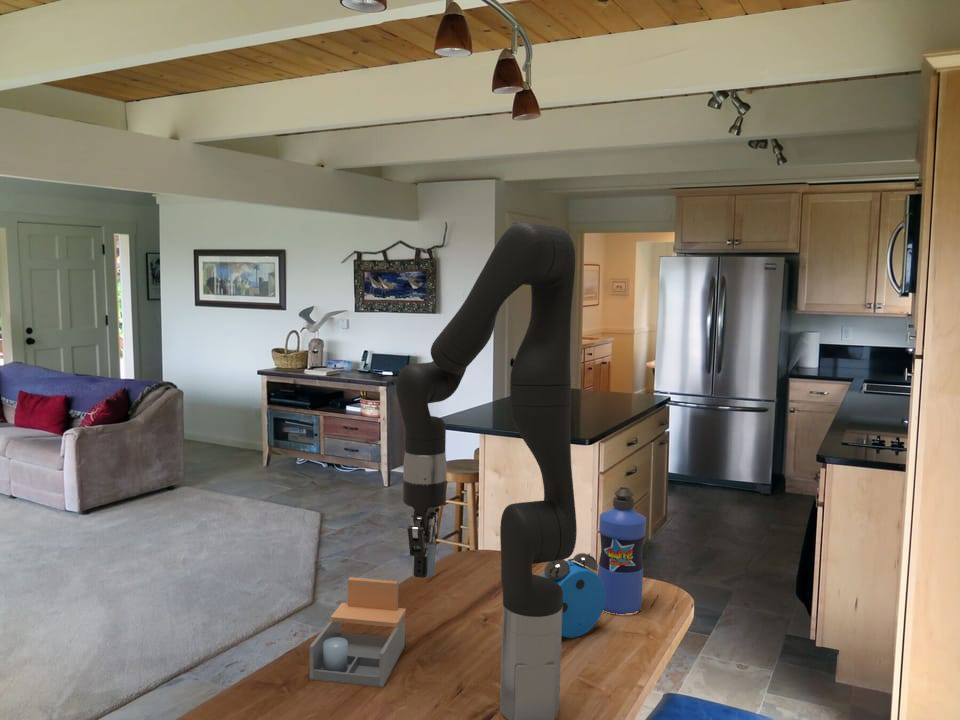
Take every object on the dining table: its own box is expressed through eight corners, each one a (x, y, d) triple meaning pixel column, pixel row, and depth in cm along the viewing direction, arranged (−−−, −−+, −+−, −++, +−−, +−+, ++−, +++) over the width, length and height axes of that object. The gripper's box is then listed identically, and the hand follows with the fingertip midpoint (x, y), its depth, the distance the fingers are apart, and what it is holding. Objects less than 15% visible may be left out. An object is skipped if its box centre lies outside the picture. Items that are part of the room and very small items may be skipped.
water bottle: (599, 594, 168) (603, 480, 165) (643, 600, 166) (649, 484, 163) (593, 612, 159) (598, 492, 156) (640, 619, 157) (646, 496, 154)
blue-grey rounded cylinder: (435, 577, 137) (435, 549, 137) (412, 577, 137) (412, 549, 136) (434, 568, 141) (434, 541, 141) (412, 568, 141) (412, 541, 140)
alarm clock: (585, 619, 156) (588, 545, 154) (605, 631, 151) (608, 555, 149) (531, 633, 149) (533, 557, 148) (550, 647, 144) (553, 568, 142)
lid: (397, 627, 136) (397, 595, 135) (330, 621, 138) (330, 589, 137) (405, 612, 142) (406, 581, 141) (341, 607, 144) (341, 576, 143)
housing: (382, 692, 127) (383, 653, 126) (309, 684, 129) (309, 646, 128) (404, 651, 141) (404, 616, 140) (337, 645, 143) (338, 610, 142)
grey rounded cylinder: (346, 677, 130) (346, 648, 129) (322, 677, 129) (322, 648, 129) (348, 665, 134) (348, 636, 133) (324, 665, 133) (324, 637, 133)
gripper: (436, 488, 130) (435, 589, 131) (454, 468, 144) (452, 559, 145) (392, 485, 131) (391, 585, 133) (414, 465, 145) (413, 556, 147)
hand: (423, 571), depth 139 cm, fingers closed on blue-grey rounded cylinder, 4 cm apart
